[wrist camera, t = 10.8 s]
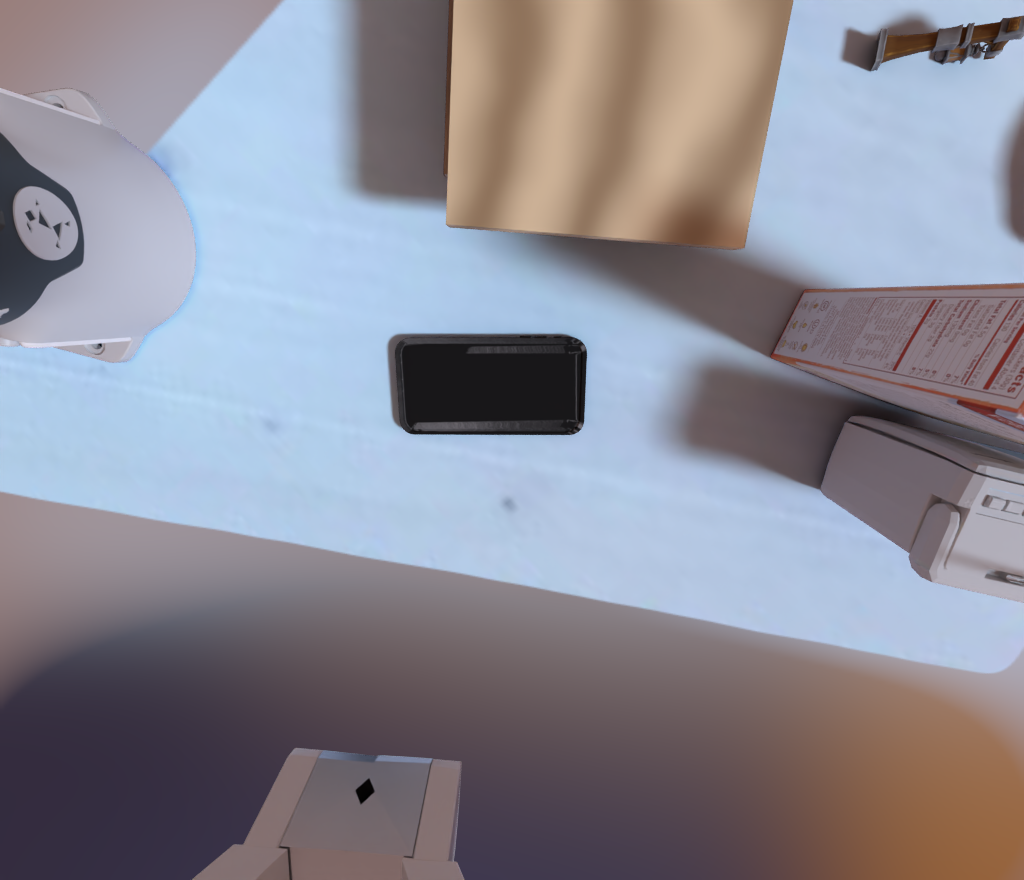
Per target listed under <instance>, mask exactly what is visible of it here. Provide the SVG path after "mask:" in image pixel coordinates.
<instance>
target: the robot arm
mask: <svg viewBox="0 0 1024 880" xmlns="http://www.w3.org/2000/svg"><path fill="white" fill-rule="evenodd" d="M63 108H64V109H63ZM195 266H196V244H195V236H194V232H193V227H192V223H191V220H190V217H189V214H188V212H187V209H186V207H185V204H184V202H183V200H182V198H181V196H180V195H179V193H178V191H177V189H176V188H175V186H174V185H173V183H172V182H171V180H170V179H169V178H168V176H167V175H166V174H165V173H164V172H163V170H162V169H161V168H160V167H159V166H158V165H157V164H156V163H155V162H154V161H153V160H152V159H151V158H150V157H149V156H148V155H146V154H145V153H144V152H143V151H141V150H140V149H139V148H137V147H136V146H134V145H133V144H132V143H131V142H129V141H128V140H127V139H126V138H125V137H123V136H122V135H121V134H120V133H119V132H118V131H117V129H116V128H115V126H114V125H113V123H112V122H111V120H110V119H109V117H108V116H107V115H106V113H105V112H104V110H103V109H102V108H101V106H100V105H99V104H98V103H97V101H96V100H95V99H94V98H93V97H91V96H90V95H89V94H87V93H85V92H82V91H78V90H75V89H72V88H63V89H56V90H50V91H43V92H37V93H31V94H24V95H21V94H18V93H15V92H12V91H9V90H5V89H2V88H0V346H7V347H16V346H20V344H21V346H23V347H26V348H44V347H54V348H58V349H62V350H66V351H69V352H73V353H77V354H80V355H84V356H88V357H92V358H95V359H99V360H103V361H107V362H112V363H117V362H127V361H129V360H130V359H131V358H132V357H133V356H134V355H135V354H136V352H137V350H138V349H139V347H140V345H141V343H142V341H143V339H144V337H145V336H146V335H147V334H148V333H149V332H150V331H151V330H153V329H154V328H156V327H157V326H159V325H160V324H162V323H163V322H165V321H166V320H167V319H169V318H170V317H171V316H172V315H173V314H174V313H175V312H176V311H177V310H178V309H179V307H180V306H181V305H182V303H183V302H184V300H185V298H186V296H187V294H188V292H189V290H190V287H191V284H192V281H193V277H194V273H195ZM99 343H102V347H101V346H100V345H99ZM460 778H461V761H447V760H436V759H435V760H434V759H430V758H415V757H399V756H382V755H379V756H370V755H360V754H352V753H342V752H333V751H322V750H312V749H300V748H295V749H294V750H293V751H292V752H291V754H290V755H289V756H288V757H287V759H286V761H285V763H284V765H283V767H282V769H281V771H280V773H279V775H278V777H277V779H276V781H275V783H274V785H273V787H272V789H271V791H270V793H269V795H268V797H267V799H266V801H265V803H264V804H263V806H262V809H261V810H260V812H259V814H258V816H257V819H256V820H255V822H254V824H253V826H252V828H251V830H250V832H249V834H248V836H247V838H246V840H245V842H244V844H243V845H233V846H232V847H231V848H229V849H228V850H227V851H226V852H224V853H223V854H222V855H221V856H220V857H218V858H217V859H216V860H215V861H214V862H212V863H211V864H210V865H209V866H208V867H207V868H205V869H204V870H203V871H202V872H201V873H199V874H198V875H197V876H196V877H195V878H193V879H192V880H464V878H463V876H462V873H461V871H460V868H459V866H458V863H457V862H453V861H454V853H455V845H456V833H457V821H458V807H459V793H460Z"/></svg>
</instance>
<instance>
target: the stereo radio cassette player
mask: <svg viewBox="0 0 1024 880" xmlns="http://www.w3.org/2000/svg"><path fill="white" fill-rule="evenodd" d="M848 421H850V422H845V424H844V426H843V428H842V430H841V433H840V435H839V437H838V439H837V442H836V444H835V447H834V449H833V452H832V454H831V457H830V460H829V462H828V465H827V469H826V472H825V475H824V479H823V482H822V485H821V489H820V490H821V492H822V493H823V494H824V495H825V496H826V497H827V498H829V499H830V500H832V501H833V502H835V503H836V504H838V505H839V506H841V507H842V508H843V509H845V510H846V511H848V512H849V513H851V514H852V515H854V516H855V517H857V518H858V519H860V520H861V521H863V522H864V523H866V524H867V525H869V526H870V527H872V528H873V529H874V530H876V531H877V532H879V533H880V534H882V535H883V536H885V537H886V538H888V539H889V540H891V541H892V542H894V543H895V544H896V545H898V546H899V547H901V548H902V549H904V550H905V551H907V552H908V553H910V555H909V560H910V563H911V567H912V568H913V569H914V570H915V571H916V573H917V574H918V575H919V576H920V577H922V578H924V579H927V580H929V581H931V582H933V583H938V584H942V585H947V586H951V587H956V588H960V589H964V590H969V591H973V592H978V593H982V594H987V595H991V596H995V597H1000V598H1004V599H1009V600H1013V601H1018V602H1022V603H1024V454H1023V453H1019V452H1015V451H1011V450H1007V449H1003V448H998V447H994V446H990V445H986V444H982V443H978V442H974V441H969V440H965V439H961V438H957V437H953V436H949V435H945V434H940V433H936V432H932V431H928V430H924V429H920V428H916V427H911V426H907V425H903V424H899V423H895V422H891V421H886V420H882V419H877V418H872V417H866V416H851V417H850V418H849V420H848ZM851 422H855V423H859V424H855V423H851Z"/></svg>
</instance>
